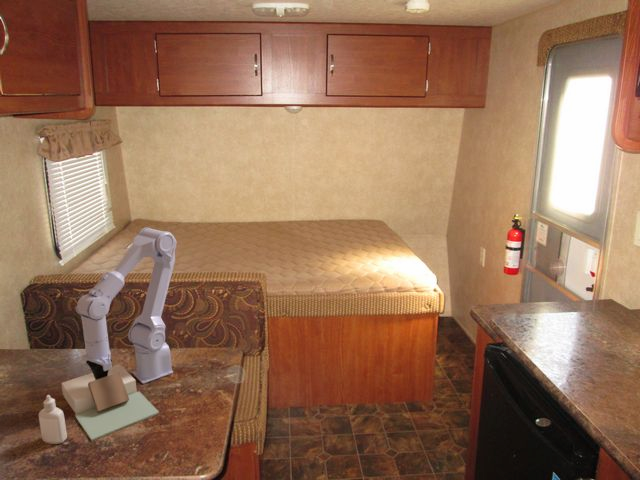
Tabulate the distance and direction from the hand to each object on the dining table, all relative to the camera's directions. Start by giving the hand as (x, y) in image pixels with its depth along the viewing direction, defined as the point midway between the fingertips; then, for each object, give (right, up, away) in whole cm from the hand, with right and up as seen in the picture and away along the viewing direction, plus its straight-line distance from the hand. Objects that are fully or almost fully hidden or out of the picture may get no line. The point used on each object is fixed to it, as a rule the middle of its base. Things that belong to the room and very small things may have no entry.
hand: (101, 383), depth 138 cm
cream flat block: (-2, -4, +3) cm, 5 cm away
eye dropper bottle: (-5, -9, -16) cm, 19 cm away
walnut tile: (+3, -2, -2) cm, 4 cm away
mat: (+7, -6, -6) cm, 11 cm away
